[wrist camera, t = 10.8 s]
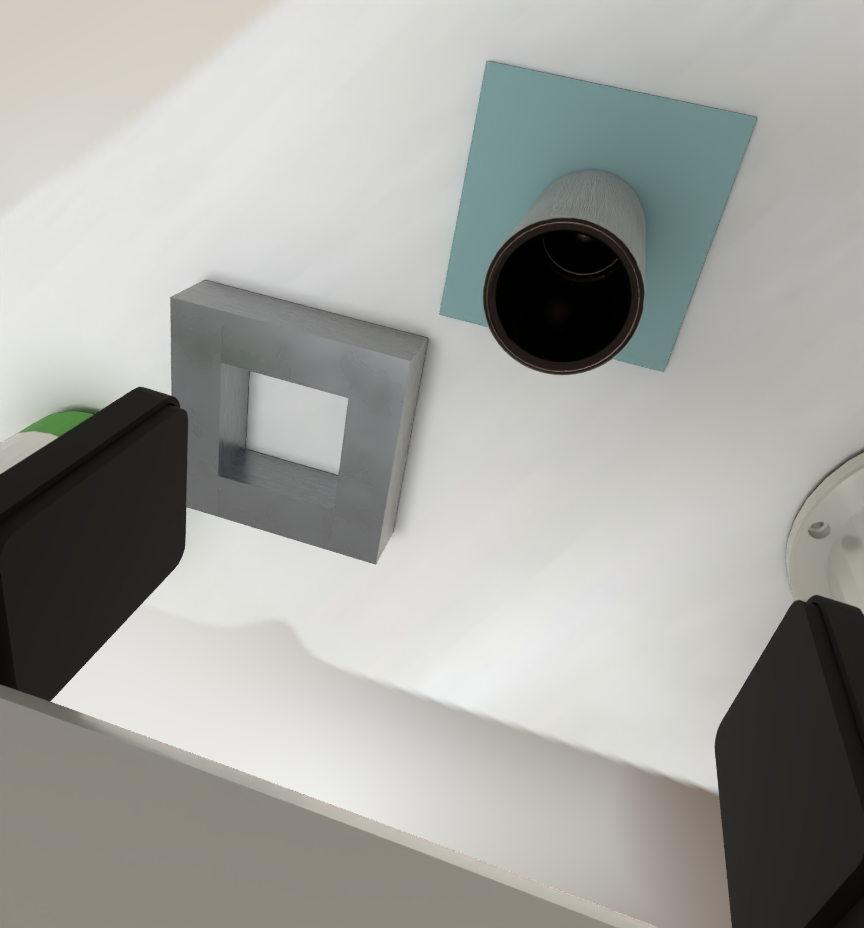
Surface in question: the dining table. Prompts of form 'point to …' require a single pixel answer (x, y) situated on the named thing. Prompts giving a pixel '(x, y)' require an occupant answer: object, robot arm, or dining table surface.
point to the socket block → (309, 364)
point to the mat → (603, 148)
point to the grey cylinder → (570, 276)
